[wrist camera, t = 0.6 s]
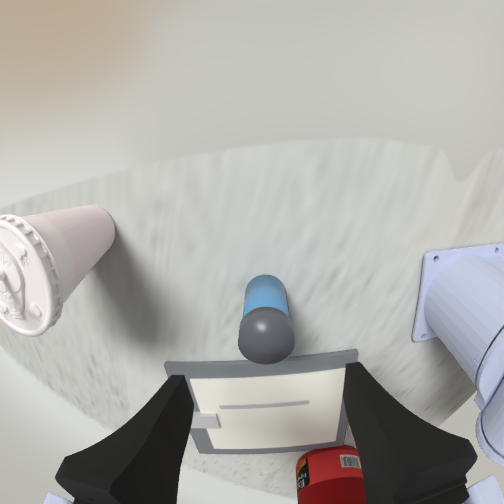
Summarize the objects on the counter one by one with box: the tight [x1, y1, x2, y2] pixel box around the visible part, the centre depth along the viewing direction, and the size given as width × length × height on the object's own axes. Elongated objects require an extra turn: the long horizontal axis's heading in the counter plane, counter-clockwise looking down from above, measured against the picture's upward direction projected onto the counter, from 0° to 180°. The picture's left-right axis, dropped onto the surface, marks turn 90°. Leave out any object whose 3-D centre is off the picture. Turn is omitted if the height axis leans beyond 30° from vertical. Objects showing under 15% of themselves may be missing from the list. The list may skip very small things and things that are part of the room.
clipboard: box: [164, 349, 358, 454], centre depth 25 cm, size 18×14×1 cm
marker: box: [238, 275, 294, 365], centre depth 18 cm, size 3×3×6 cm
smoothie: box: [0, 205, 115, 336], centre depth 13 cm, size 6×6×14 cm
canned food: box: [296, 445, 366, 504], centre depth 23 cm, size 8×8×11 cm
